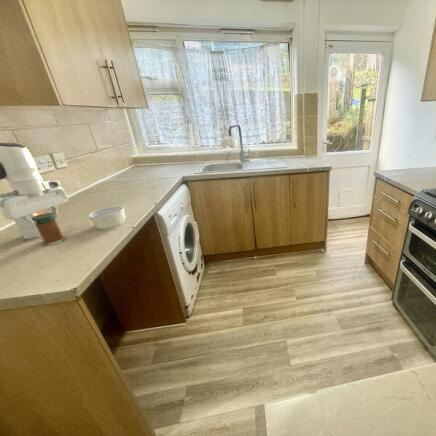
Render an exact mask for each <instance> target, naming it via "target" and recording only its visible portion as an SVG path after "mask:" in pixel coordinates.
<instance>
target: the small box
mask: <svg viewBox="0 0 436 436" xmlns="http://www.w3.org/2000/svg"><path fill="white" fill-rule="evenodd" d="M40 214H45V212H44V210H42V211H39V212H36V213H33V214H30V217H29V218H30V219H32V217H34V216H37V215H40ZM13 221H14V223H15V225H16V227H17V228H18V229H19V231H20V233H21V235H22V237H23V238H24V240H28V239H33V238H40V237H41V235H40V233H39V231H38V229H37V227H36V225H33V226H32V225H30V224H29V222H28V221H26V220H24V219H23V218H22V217H20V218H17V219H13ZM41 238H42V237H41Z"/></svg>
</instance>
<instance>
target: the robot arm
mask: <svg viewBox="0 0 436 436" xmlns="http://www.w3.org/2000/svg"><path fill="white" fill-rule="evenodd" d="M2 180H6V181H7V182H8V183H9V185H10V188H11V189H12V191H9V192H5V193H1V194H0V212H1V214H2V216H3V218H5V219H7V220H14V219H17V218H20V217H22V218H23V219H24V220H26V221H28V222H29V224H30V225H32V226H33V225H36V224H38V223H37V221H36V220H32V219H30V218H29V217H30V214H33V213H36V212H39V211H44V210H47V209H51V213H53V214H54V215H55V218H59V213H58V212H59V206H60V205H63V204H65V203H68V201H69V197H68V195H67V193H66V191H65V189H64V188H63V187H62V186H61V182H60V181H58V180H48V179H43V176H42V175H41V174H40V173H39V171H38V165H37V163H36V161H35V159H34V157H33V155H32V153H31V152H30V151H29V149H28V148H27V147H26V146H25V145H22V144H20V143H14V142H0V181H2Z"/></svg>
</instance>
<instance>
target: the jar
mask: <svg viewBox="0 0 436 436" xmlns="http://www.w3.org/2000/svg"><path fill="white" fill-rule="evenodd" d="M36 227H37V229H38V231H39V233H40V235H41V239H42V241H43V243H44V244H50V243H54V242H57V241H60V240H62V239H63V238H64V235H63V232H62V230H61V228H60V226H59V224H58V222H57V220H56V218H55V219H54V220H52V221H49V222H46V223H40V224H36Z"/></svg>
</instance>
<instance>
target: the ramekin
mask: <svg viewBox="0 0 436 436" xmlns="http://www.w3.org/2000/svg"><path fill="white" fill-rule="evenodd" d="M88 217H89V219H90V221H91V222H92V223H93V225H94V226H95V228H96V229H99V230H100V229H101V230H102V229H103V230H104V229H111V228H114V227H117V226H120V225H122V224H123V223H125V222H126V221H127V220H126V214H125V208H124V207H123V206H119V205H117V206H108V207H104V208H99V209H97V210H94V211H92V212H91V213H89V214H88Z"/></svg>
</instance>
